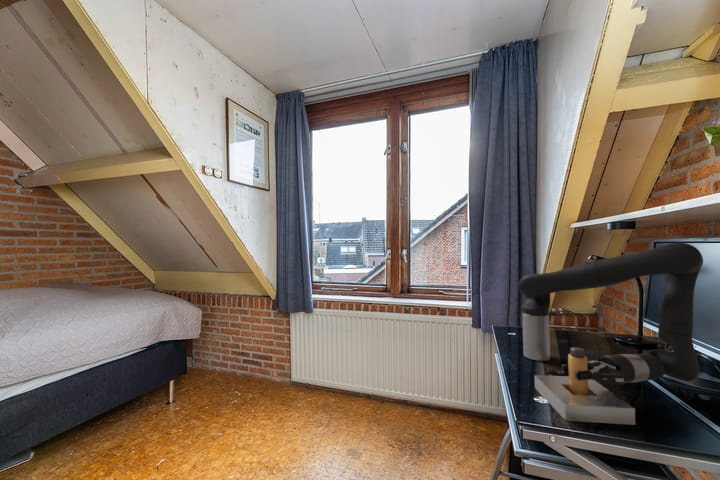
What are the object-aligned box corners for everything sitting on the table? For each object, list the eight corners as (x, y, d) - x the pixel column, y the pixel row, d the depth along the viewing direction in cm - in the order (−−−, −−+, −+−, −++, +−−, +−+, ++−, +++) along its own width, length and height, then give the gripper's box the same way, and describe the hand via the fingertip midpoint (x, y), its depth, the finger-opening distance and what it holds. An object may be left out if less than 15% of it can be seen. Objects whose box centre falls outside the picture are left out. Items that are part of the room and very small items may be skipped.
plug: (566, 394, 87) (564, 346, 88) (582, 395, 87) (581, 346, 87) (574, 402, 83) (573, 351, 83) (592, 403, 82) (590, 352, 83)
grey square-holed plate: (534, 387, 95) (534, 374, 95) (590, 390, 93) (590, 377, 93) (565, 420, 77) (565, 404, 77) (635, 424, 75) (634, 408, 75)
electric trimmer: (590, 378, 102) (590, 368, 102) (554, 383, 98) (554, 373, 98) (580, 373, 106) (580, 364, 106) (544, 378, 102) (544, 369, 102)
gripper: (600, 347, 94) (549, 350, 92) (649, 364, 80) (591, 368, 78) (600, 371, 94) (550, 375, 92) (650, 393, 80) (592, 398, 77)
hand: (569, 372), depth 85 cm, fingers closed on plug, 4 cm apart
